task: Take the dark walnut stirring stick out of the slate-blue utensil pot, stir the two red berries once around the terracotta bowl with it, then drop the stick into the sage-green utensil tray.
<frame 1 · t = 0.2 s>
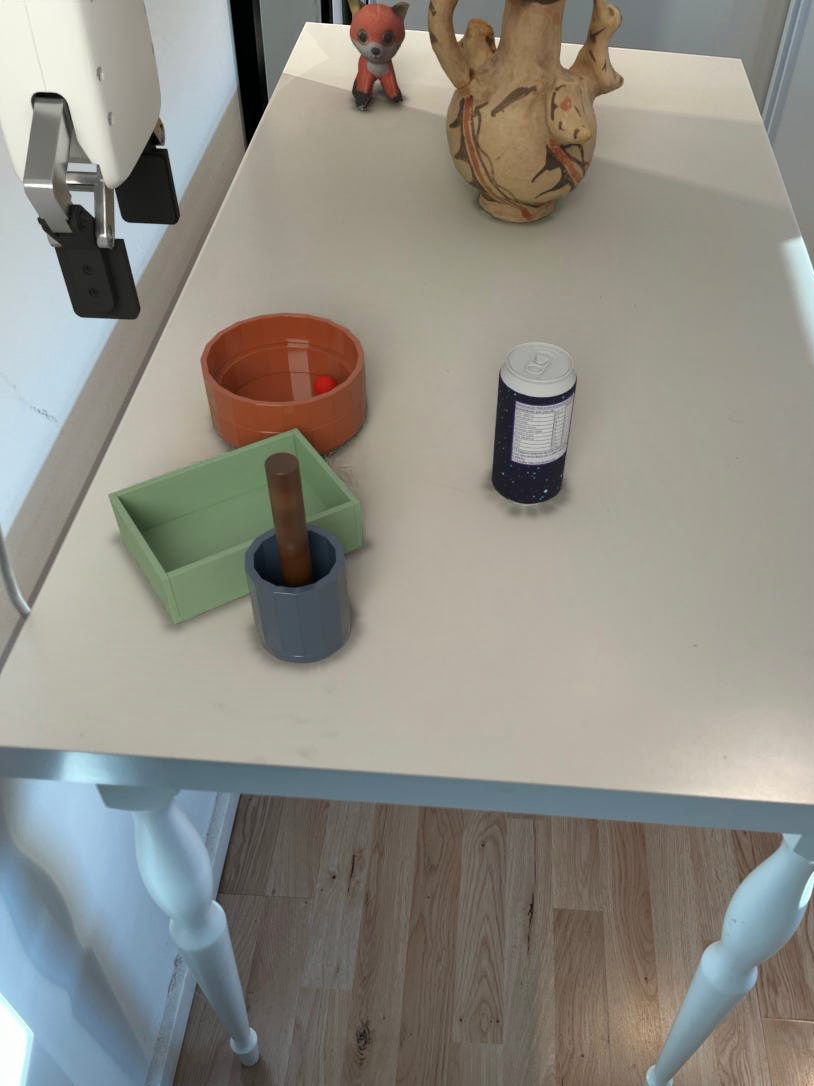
hand: (131, 265, 52), 24 cm above the table, tool pointing down, fingers open, 9 cm apart
beverage can: (525, 490, 79), on the table
stuffed fox: (381, 99, 128), on the table
ceramic vessel: (525, 209, 110), on the table
bowl: (290, 417, 84), on the table
berry a: (325, 387, 84), point 2 cm above the table, touching bowl
holder: (304, 628, 68), on the table
stick: (303, 620, 68), point 1 cm above the table, touching holder
tray: (243, 543, 73), on the table
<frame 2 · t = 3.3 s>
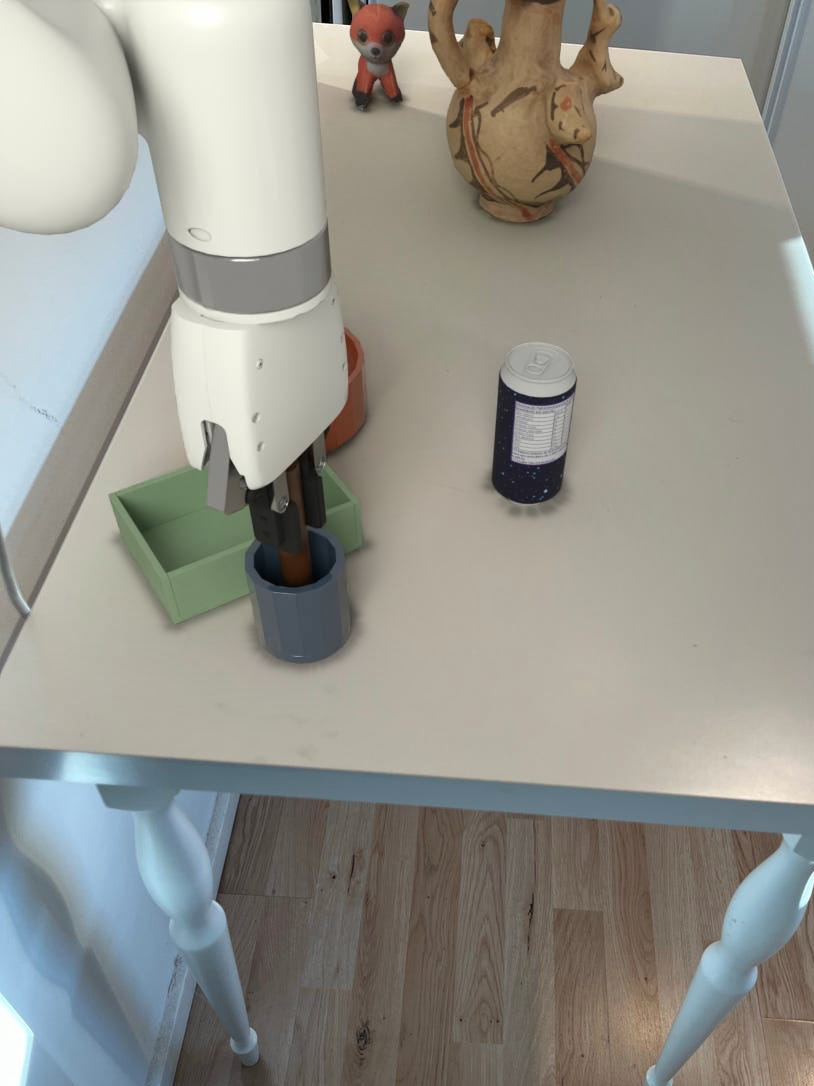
hand: (291, 530, 61), 9 cm above the table, tool pointing down, fingers closed on stick, 2 cm apart
stick: (303, 620, 68), point 1 cm above the table, touching gripper, holder
everything else where it was.
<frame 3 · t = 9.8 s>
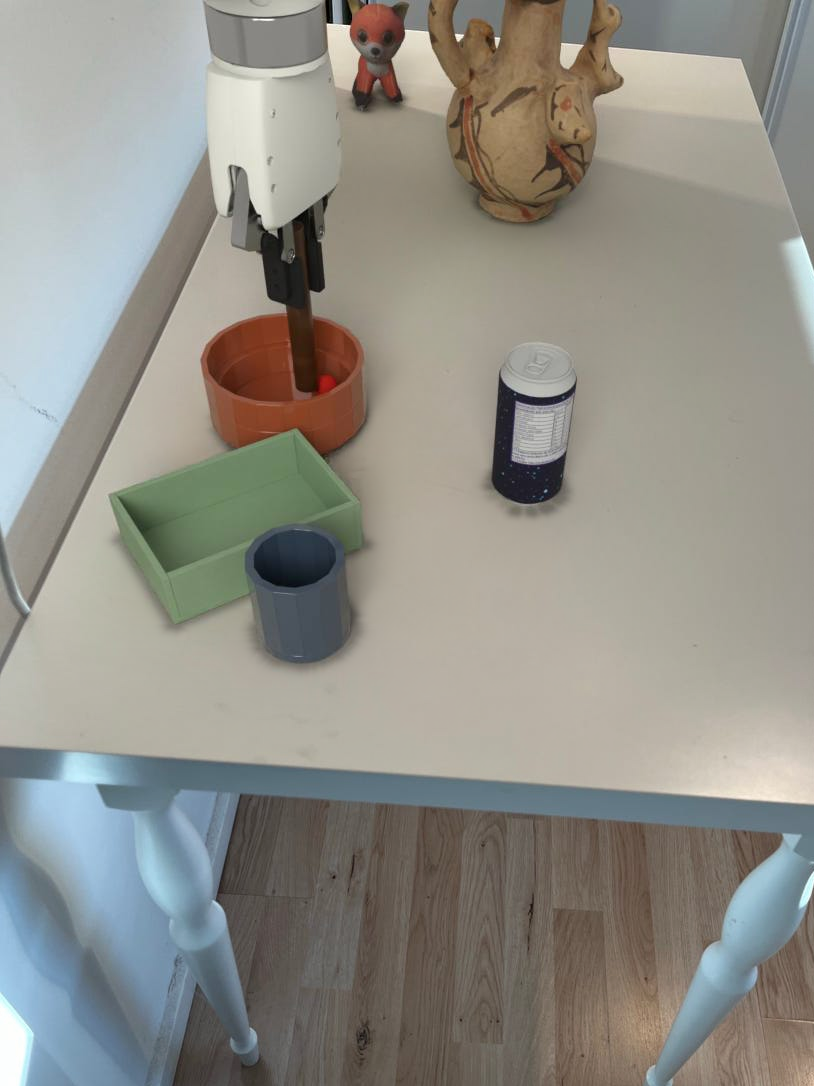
hand: (296, 293, 76), 11 cm above the table, tool pointing down, fingers closed on stick, 2 cm apart
berry a: (326, 386, 84), point 2 cm above the table, tilted 8°, touching bowl, stick
stick: (307, 385, 82), point 2 cm above the table, touching berry a, gripper
everything else where it was.
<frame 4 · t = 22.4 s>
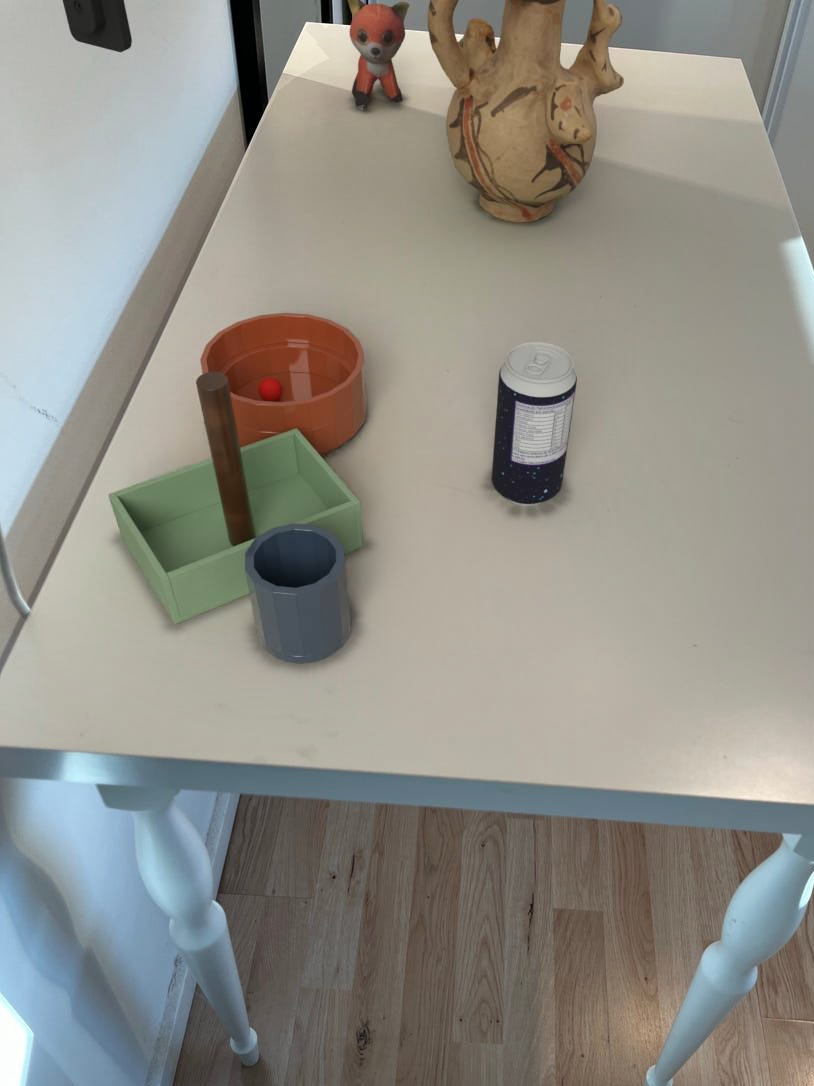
hand: (167, 15, 49), 34 cm above the table, tool pointing down, fingers open, 9 cm apart
berry a: (270, 390, 83), point 2 cm above the table, tilted 121°, touching bowl
stick: (242, 538, 73), resting on tray
at the end: stick inside the target area in the tray (0.1 cm from its centre), point 0.5 cm above the tray's base; the gripper is holding nothing; berry a inside the target area in the bowl (2.1 cm from its centre), point 1.8 cm above the bowl's base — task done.
